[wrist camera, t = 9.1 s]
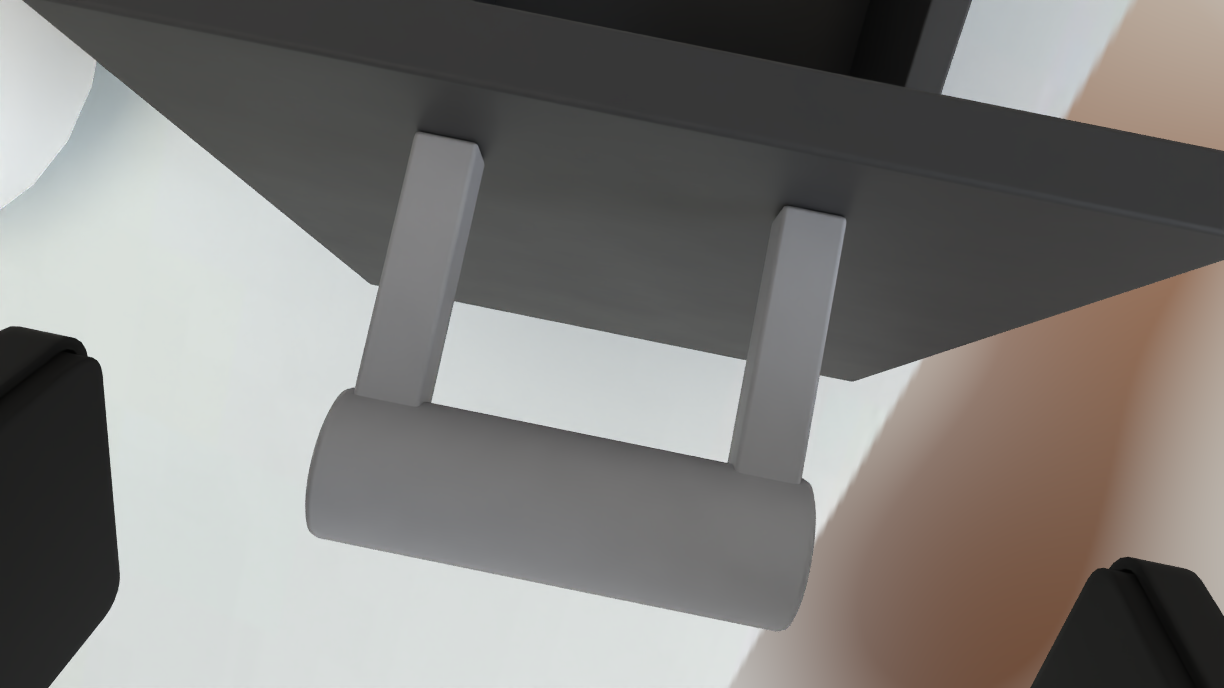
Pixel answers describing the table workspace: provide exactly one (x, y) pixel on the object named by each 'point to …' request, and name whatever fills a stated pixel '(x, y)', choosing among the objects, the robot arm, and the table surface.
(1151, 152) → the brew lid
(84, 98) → the bowl
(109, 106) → the table surface
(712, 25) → the black open box
